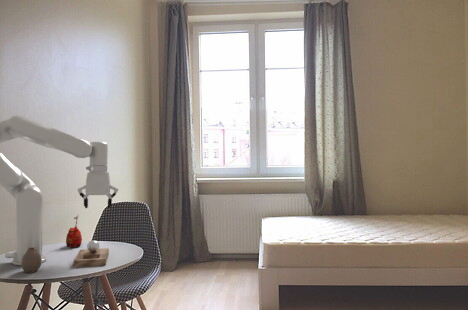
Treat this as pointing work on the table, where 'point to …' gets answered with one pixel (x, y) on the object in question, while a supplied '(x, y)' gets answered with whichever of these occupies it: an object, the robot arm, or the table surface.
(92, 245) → the ball
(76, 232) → the red clay folk toy
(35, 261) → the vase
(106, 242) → the table surface
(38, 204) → the robot arm
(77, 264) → the board
